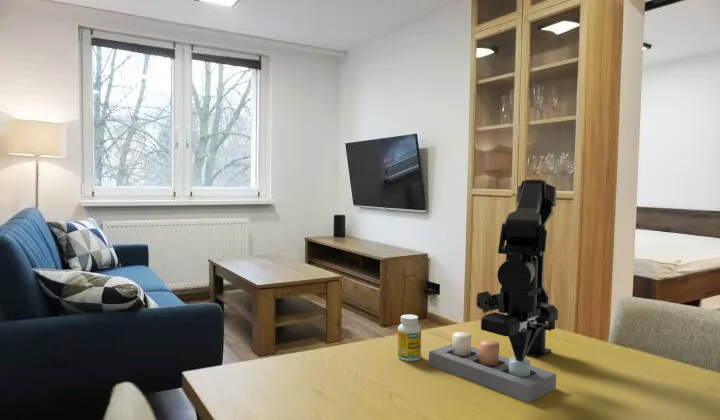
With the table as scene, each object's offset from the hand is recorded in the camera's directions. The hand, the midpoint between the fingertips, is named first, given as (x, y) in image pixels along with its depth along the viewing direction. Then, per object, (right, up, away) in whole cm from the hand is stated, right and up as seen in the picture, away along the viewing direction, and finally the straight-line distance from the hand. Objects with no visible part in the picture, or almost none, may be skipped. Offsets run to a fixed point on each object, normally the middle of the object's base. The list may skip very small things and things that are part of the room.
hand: (519, 360), depth 93 cm
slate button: (0, -4, 0) cm, 4 cm away
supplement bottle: (-20, -5, +16) cm, 26 cm away
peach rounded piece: (-5, -2, +5) cm, 7 cm away
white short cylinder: (-9, -2, +11) cm, 14 cm away
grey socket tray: (-5, -5, +6) cm, 9 cm away
